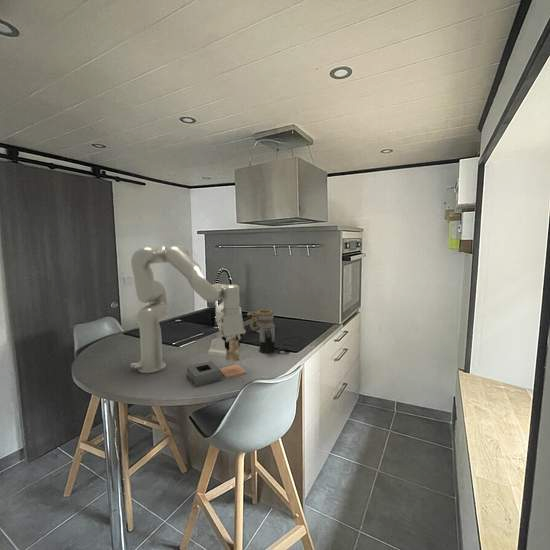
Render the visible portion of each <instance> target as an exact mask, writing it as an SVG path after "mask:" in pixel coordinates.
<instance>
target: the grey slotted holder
mask: <svg viewBox="0 0 550 550" xmlns="http://www.w3.org/2000/svg"><path fill="white" fill-rule="evenodd" d="M186 377H187V379H188V378H189V379H188V381H189V382H190V383H191V382H192V383H191V384H192V385H193V387H194V388H197V387H198V386H199V387H203V386H206V385H210V384H213V383H218V382H221V381H222V373H221V370H220V369H219V366H218V365H217V364H216V363H214V362H213V361H212V360H210V361H206V362H202V363H201V362H200V363H196V364H191V365H187V366H186Z"/></svg>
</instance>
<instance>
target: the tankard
mask: <svg viewBox="0 0 550 550" xmlns="http://www.w3.org/2000/svg"><path fill="white" fill-rule="evenodd" d="M273 313H274V312H273V310H271V309H261V310H257V311H256V313H255V312H251V311H249V312H247V313H246V315H247V317H250V316H251V320H250V323H249V327H250V329H251V330H252V331H255V332H256V333H258V334H260V327H259V325H261V324H273V325H275V324H274V320H273V319H274V316H275V314H273ZM255 320H256V322H255ZM254 323H255V324H256V326H254Z"/></svg>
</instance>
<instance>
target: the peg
mask: <svg viewBox="0 0 550 550" xmlns="http://www.w3.org/2000/svg"><path fill="white" fill-rule="evenodd" d="M228 342H229V350H227V349H226V360H227V361H228V362H229V363H233V362H238V361H239V360H240V359H239V357H240V356H239V352H240V351H239V349H240V346H239V347H238V339H236V338H229V339H228Z"/></svg>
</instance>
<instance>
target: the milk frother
mask: <svg viewBox="0 0 550 550" xmlns="http://www.w3.org/2000/svg"><path fill="white" fill-rule="evenodd" d="M259 327H260V333H259V349H258V352H260V353H263V354H272V353H275V352H277V351H278V352H279V351H283V352H287V351H288V350H290V347H287V346H282V347H281V348H277V349H276V348H275V339H276V338H275V336H276V335H275V334H276V333H275V331H276V330H275V328H276V325H275V324H274V325H273V324H261V325H259ZM286 350H287V351H286Z"/></svg>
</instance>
